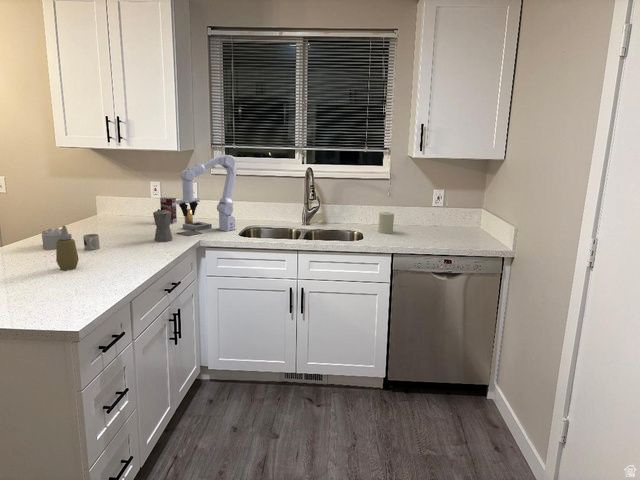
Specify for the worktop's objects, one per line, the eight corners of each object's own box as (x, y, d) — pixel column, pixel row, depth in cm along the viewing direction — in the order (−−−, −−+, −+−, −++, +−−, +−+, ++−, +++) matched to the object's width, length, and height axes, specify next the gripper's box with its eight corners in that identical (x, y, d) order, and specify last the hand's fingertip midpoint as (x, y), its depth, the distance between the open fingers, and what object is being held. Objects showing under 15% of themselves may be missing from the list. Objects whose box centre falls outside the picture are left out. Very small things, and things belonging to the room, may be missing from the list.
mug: (85, 247, 220) (84, 234, 218) (100, 246, 222) (99, 233, 221) (82, 252, 211) (81, 238, 209) (98, 251, 213) (97, 238, 211)
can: (392, 230, 278) (393, 211, 276) (393, 233, 269) (394, 214, 267) (377, 230, 279) (378, 211, 276) (378, 233, 270) (379, 213, 268)
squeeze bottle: (74, 264, 191) (70, 223, 187) (82, 268, 186) (78, 226, 182) (53, 268, 185) (49, 225, 181) (62, 272, 180) (57, 228, 176)
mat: (202, 233, 257) (202, 232, 257) (187, 236, 249) (187, 235, 249) (191, 230, 263) (191, 230, 263) (176, 233, 255) (176, 232, 255)
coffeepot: (176, 241, 236) (174, 207, 232) (157, 243, 231) (155, 209, 227) (168, 236, 249) (166, 203, 244) (150, 237, 243) (148, 204, 239)
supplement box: (161, 222, 284) (159, 197, 280) (165, 221, 288) (164, 197, 285) (172, 224, 281) (171, 198, 278) (177, 222, 286) (176, 197, 282)
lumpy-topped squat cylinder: (43, 250, 212) (41, 232, 210) (42, 244, 223) (40, 227, 221) (68, 248, 218) (66, 230, 216) (66, 242, 228) (64, 226, 226)
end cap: (194, 223, 255) (193, 209, 253) (186, 224, 252) (186, 210, 250) (190, 222, 258) (190, 208, 256) (183, 223, 255) (182, 209, 253)
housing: (211, 228, 272) (211, 224, 271) (195, 231, 263) (195, 226, 262) (199, 225, 279) (199, 221, 278) (182, 228, 270) (182, 224, 269)
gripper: (194, 189, 259) (195, 213, 262) (172, 192, 248) (173, 216, 251) (202, 191, 254) (202, 214, 258) (180, 193, 243) (181, 217, 246)
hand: (188, 215), depth 254 cm, fingers closed on end cap, 4 cm apart
